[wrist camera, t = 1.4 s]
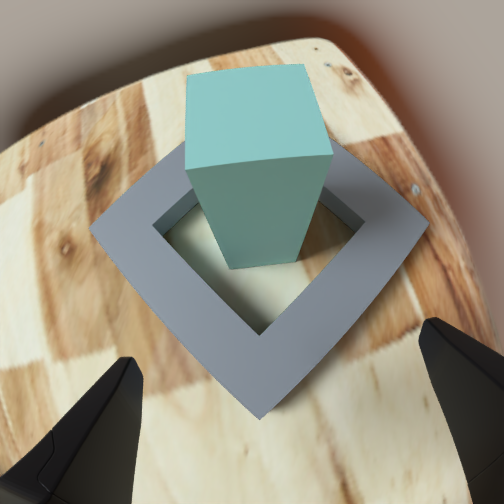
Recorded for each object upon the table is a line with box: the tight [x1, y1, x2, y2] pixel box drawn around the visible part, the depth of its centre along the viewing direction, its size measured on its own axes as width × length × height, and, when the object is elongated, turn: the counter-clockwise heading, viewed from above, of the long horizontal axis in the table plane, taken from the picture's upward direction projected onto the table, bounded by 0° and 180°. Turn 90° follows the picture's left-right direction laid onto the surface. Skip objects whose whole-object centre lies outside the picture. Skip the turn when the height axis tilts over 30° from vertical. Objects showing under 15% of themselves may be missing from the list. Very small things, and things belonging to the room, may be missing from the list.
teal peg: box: [185, 64, 334, 269], centre depth 17 cm, size 5×5×14 cm
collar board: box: [89, 137, 430, 420], centre depth 23 cm, size 19×19×2 cm
